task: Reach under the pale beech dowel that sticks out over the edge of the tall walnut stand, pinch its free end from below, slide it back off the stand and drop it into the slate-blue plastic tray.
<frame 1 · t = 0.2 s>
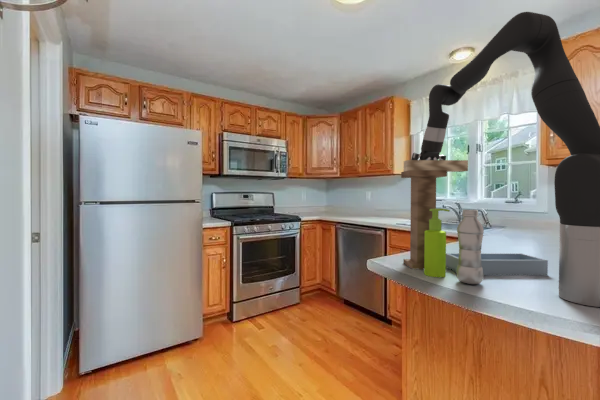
hand: (423, 179, 121), 30 cm above the table, tool tilted 20°, fingers open, 8 cm apart
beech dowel: (435, 171, 99), point 32 cm above the table, touching walnut stand
slate tray: (493, 270, 94), on the table
plastic bottle: (469, 283, 80), on the table
walnut stand: (422, 266, 100), on the table
soap dispenser: (436, 275, 89), on the table
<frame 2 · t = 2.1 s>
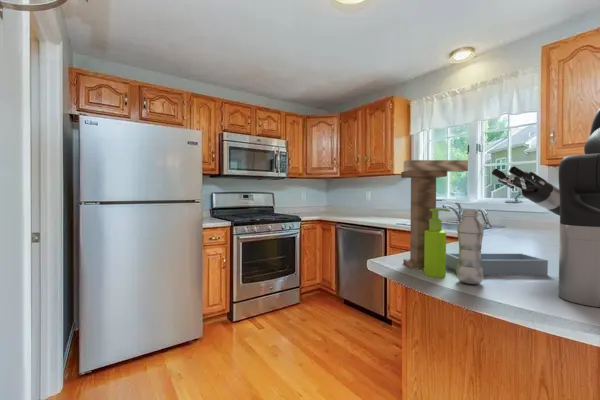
hand: (501, 169, 99), 33 cm above the table, tool pointing upward, fingers open, 8 cm apart
nothing on the table moved.
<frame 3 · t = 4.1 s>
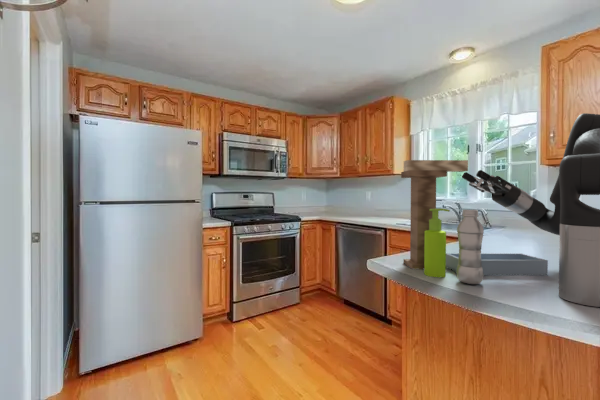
hand: (470, 173, 99), 31 cm above the table, tool pointing upward, fingers open, 8 cm apart
nothing on the table moved.
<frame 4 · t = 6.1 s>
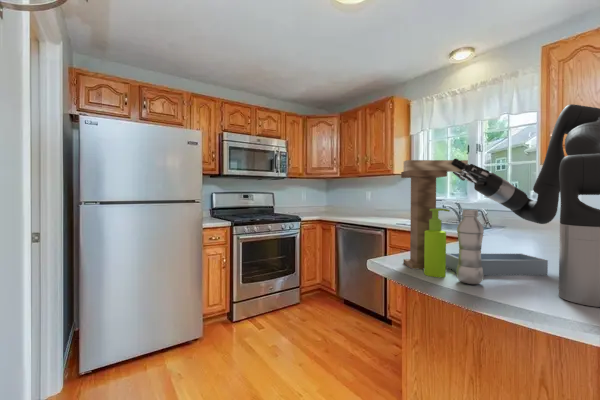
hand: (450, 161, 99), 35 cm above the table, tool pointing upward, fingers closed on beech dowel, 3 cm apart
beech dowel: (435, 171, 99), point 32 cm above the table, touching gripper, walnut stand
everything else where it was.
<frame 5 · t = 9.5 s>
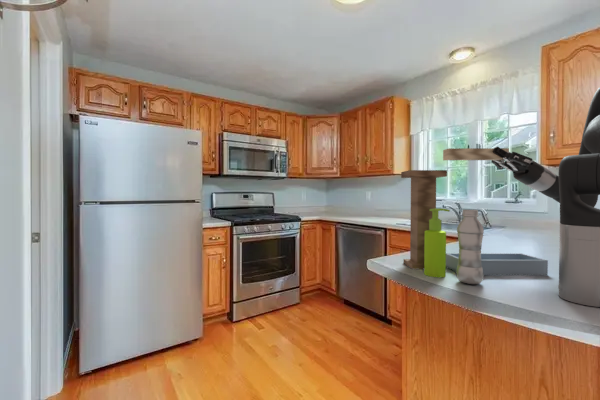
hand: (490, 150, 99), 39 cm above the table, tool pointing upward, fingers closed on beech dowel, 3 cm apart
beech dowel: (475, 159, 99), point 36 cm above the table, touching gripper
everything else where it was.
when the fingers open (26 cm above the table, at t = 12.8 s): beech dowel drops 22 cm, resting on slate tray.
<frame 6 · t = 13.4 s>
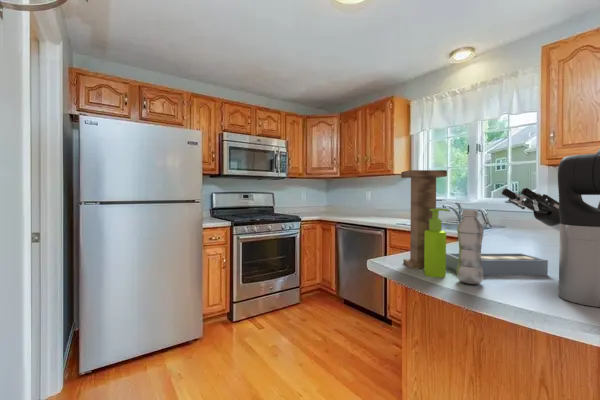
hand: (512, 190, 93), 25 cm above the table, tool pointing upward, fingers open, 8 cm apart
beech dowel: (498, 268, 93), point 1 cm above the table, touching slate tray
everything else where it was.
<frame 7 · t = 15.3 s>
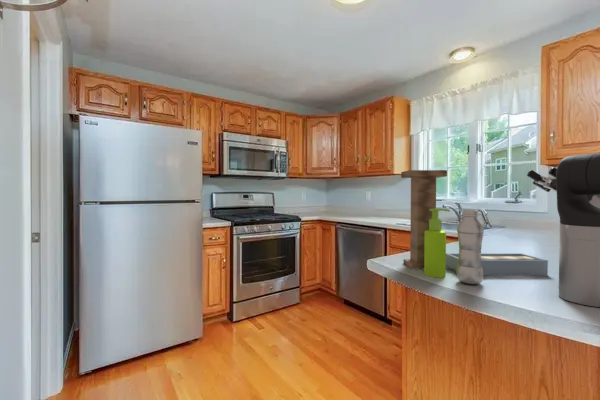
hand: (539, 171, 94), 32 cm above the table, tool pointing upward, fingers open, 8 cm apart
nothing on the table moved.
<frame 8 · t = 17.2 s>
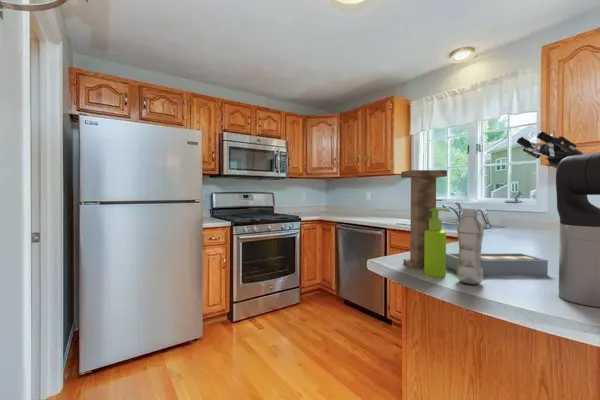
hand: (528, 136, 96), 43 cm above the table, tool pointing upward, fingers open, 8 cm apart
nothing on the table moved.
at the end: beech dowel inside the target area on the slate tray (1.5 cm from its centre), point 0.8 cm above the slate tray's base; the gripper is holding nothing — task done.
